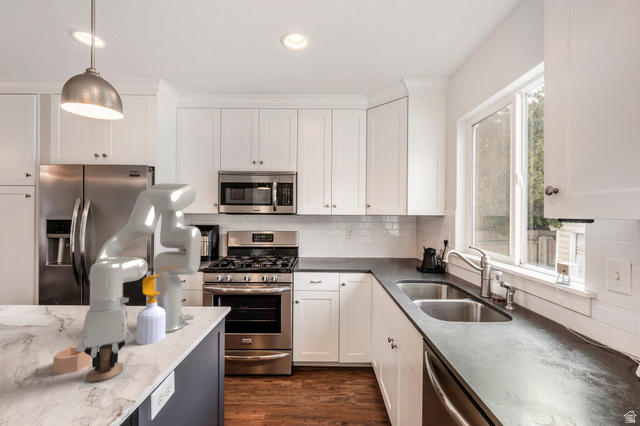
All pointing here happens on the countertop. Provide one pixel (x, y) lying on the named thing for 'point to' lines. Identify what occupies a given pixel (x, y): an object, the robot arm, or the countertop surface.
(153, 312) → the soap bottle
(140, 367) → the countertop surface
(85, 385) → the mat
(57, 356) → the octagonal peach pot
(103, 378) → the lid
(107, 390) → the countertop surface
